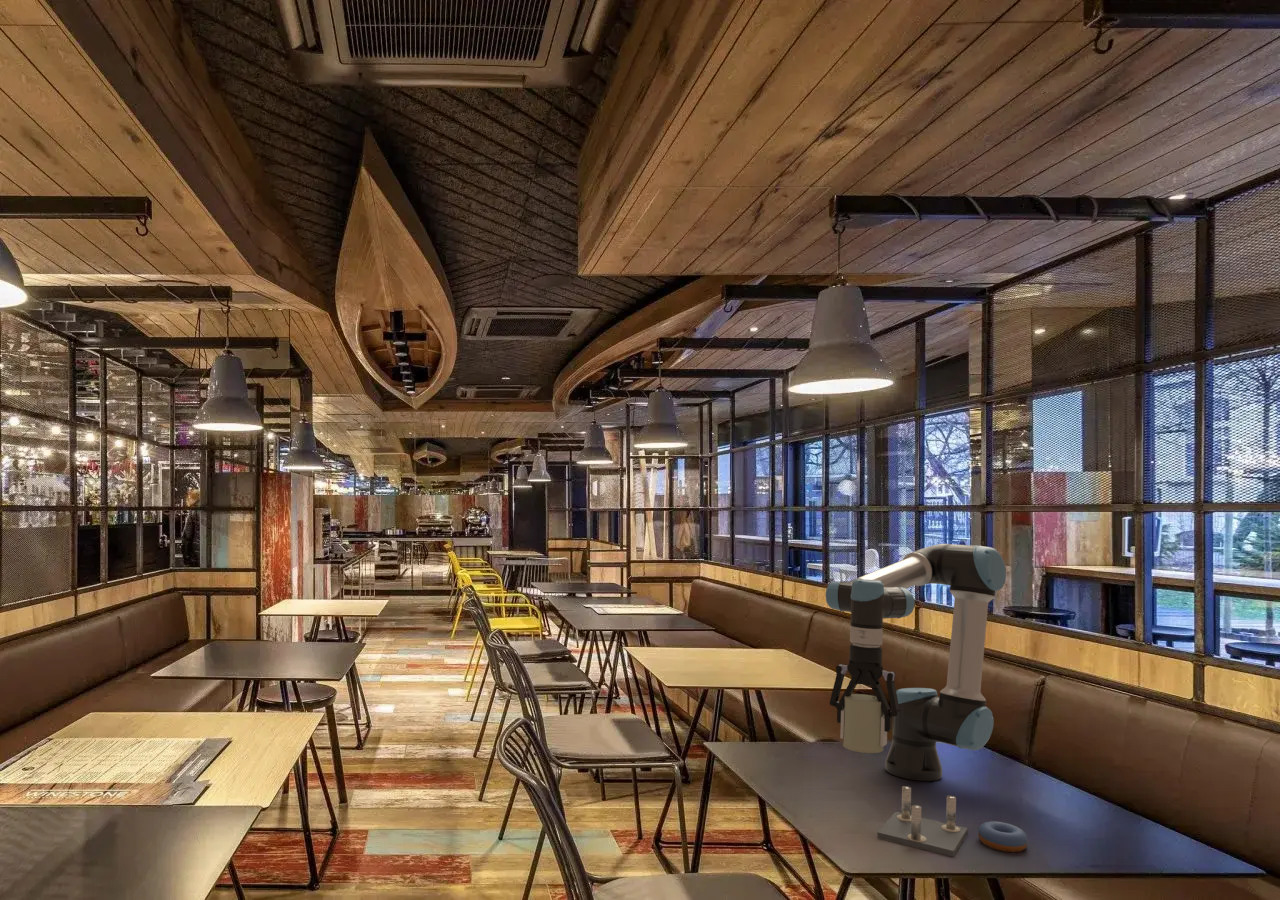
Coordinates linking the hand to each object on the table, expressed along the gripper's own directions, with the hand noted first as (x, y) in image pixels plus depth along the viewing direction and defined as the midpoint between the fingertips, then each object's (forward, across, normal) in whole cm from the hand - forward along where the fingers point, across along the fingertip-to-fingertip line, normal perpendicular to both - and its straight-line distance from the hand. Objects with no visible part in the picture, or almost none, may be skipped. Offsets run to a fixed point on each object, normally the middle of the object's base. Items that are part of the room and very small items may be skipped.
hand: (863, 741), depth 195 cm
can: (+2, 0, 0) cm, 2 cm away
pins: (+16, +15, -4) cm, 22 cm away
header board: (+17, +15, -2) cm, 23 cm away
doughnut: (+18, +30, +4) cm, 35 cm away
